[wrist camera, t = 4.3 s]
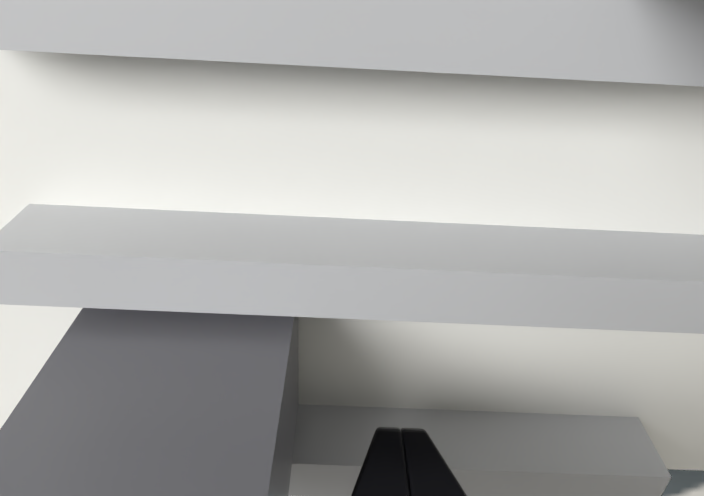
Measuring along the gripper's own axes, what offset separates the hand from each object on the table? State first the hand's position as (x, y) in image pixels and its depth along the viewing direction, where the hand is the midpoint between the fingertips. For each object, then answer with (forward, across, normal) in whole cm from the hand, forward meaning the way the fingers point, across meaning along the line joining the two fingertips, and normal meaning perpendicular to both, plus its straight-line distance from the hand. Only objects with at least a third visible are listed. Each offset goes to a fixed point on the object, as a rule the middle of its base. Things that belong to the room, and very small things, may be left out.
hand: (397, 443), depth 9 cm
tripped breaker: (+2, +4, 0) cm, 4 cm away
